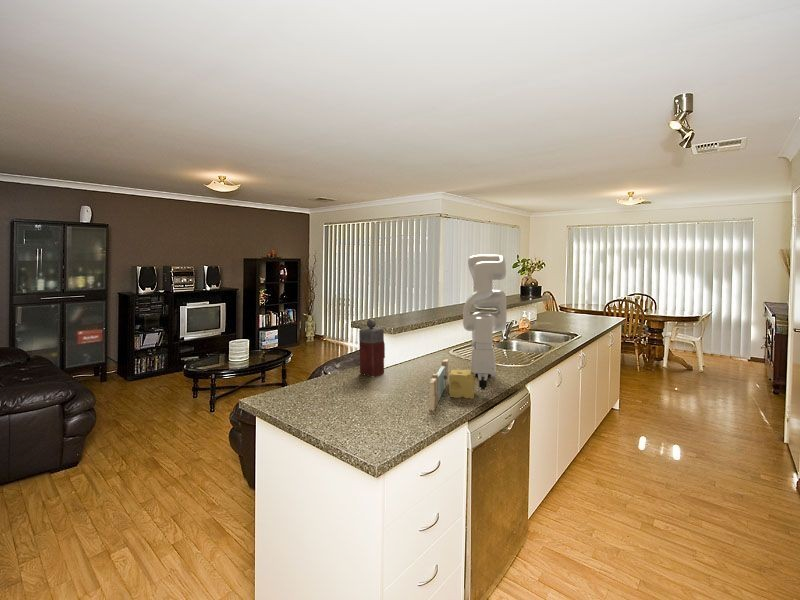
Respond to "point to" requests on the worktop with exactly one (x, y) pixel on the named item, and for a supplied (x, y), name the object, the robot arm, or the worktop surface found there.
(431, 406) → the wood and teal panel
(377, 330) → the red canister
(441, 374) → the door
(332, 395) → the worktop surface
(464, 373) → the cheese
